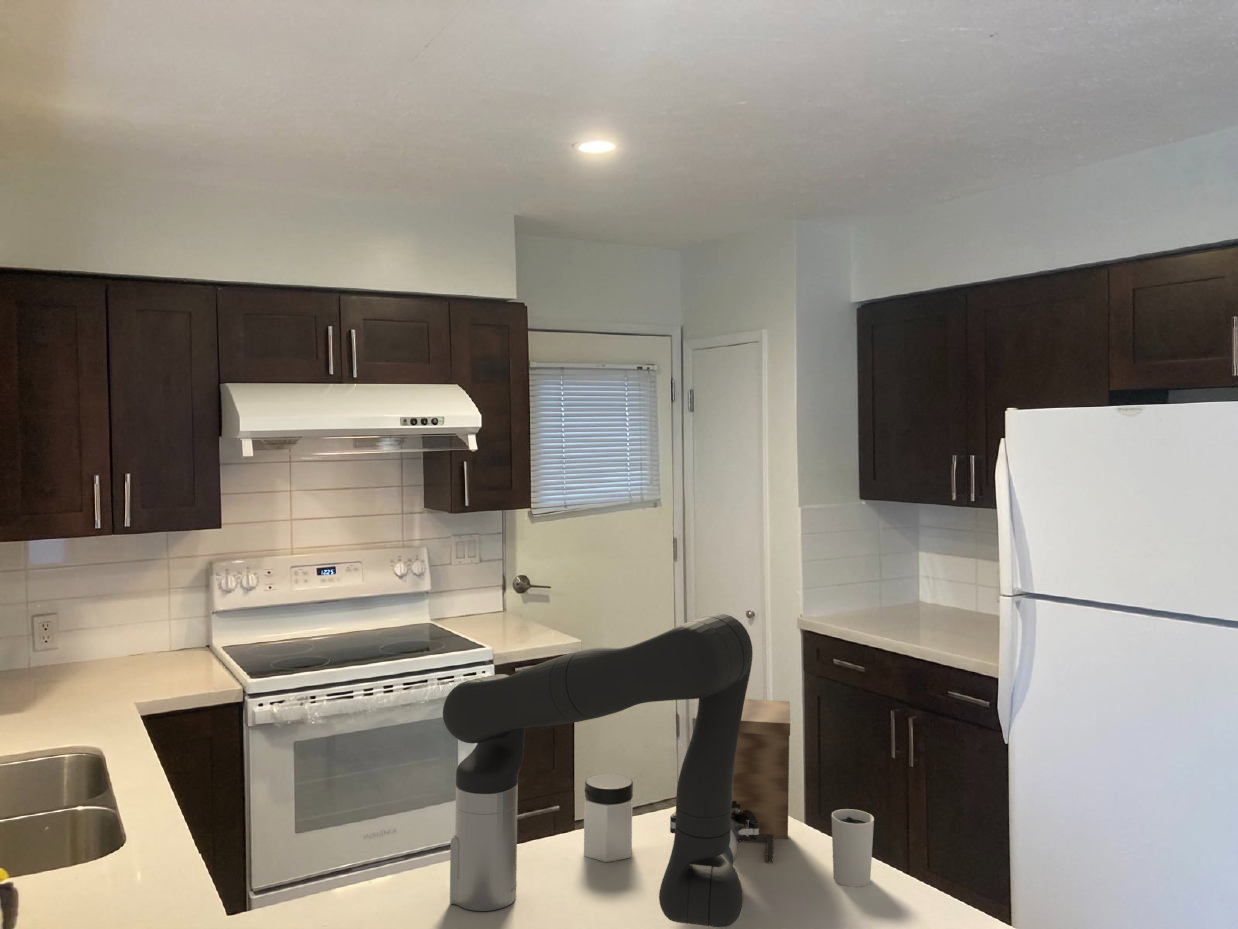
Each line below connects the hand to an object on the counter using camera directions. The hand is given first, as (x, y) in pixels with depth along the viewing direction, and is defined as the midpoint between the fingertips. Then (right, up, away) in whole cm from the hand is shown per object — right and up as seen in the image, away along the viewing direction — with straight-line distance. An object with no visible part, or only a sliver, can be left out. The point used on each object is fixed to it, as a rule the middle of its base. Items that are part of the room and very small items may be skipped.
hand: (718, 806), depth 159 cm
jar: (-18, -11, +8) cm, 22 cm away
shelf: (+6, -11, +9) cm, 15 cm away
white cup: (+21, -11, -2) cm, 24 cm away
